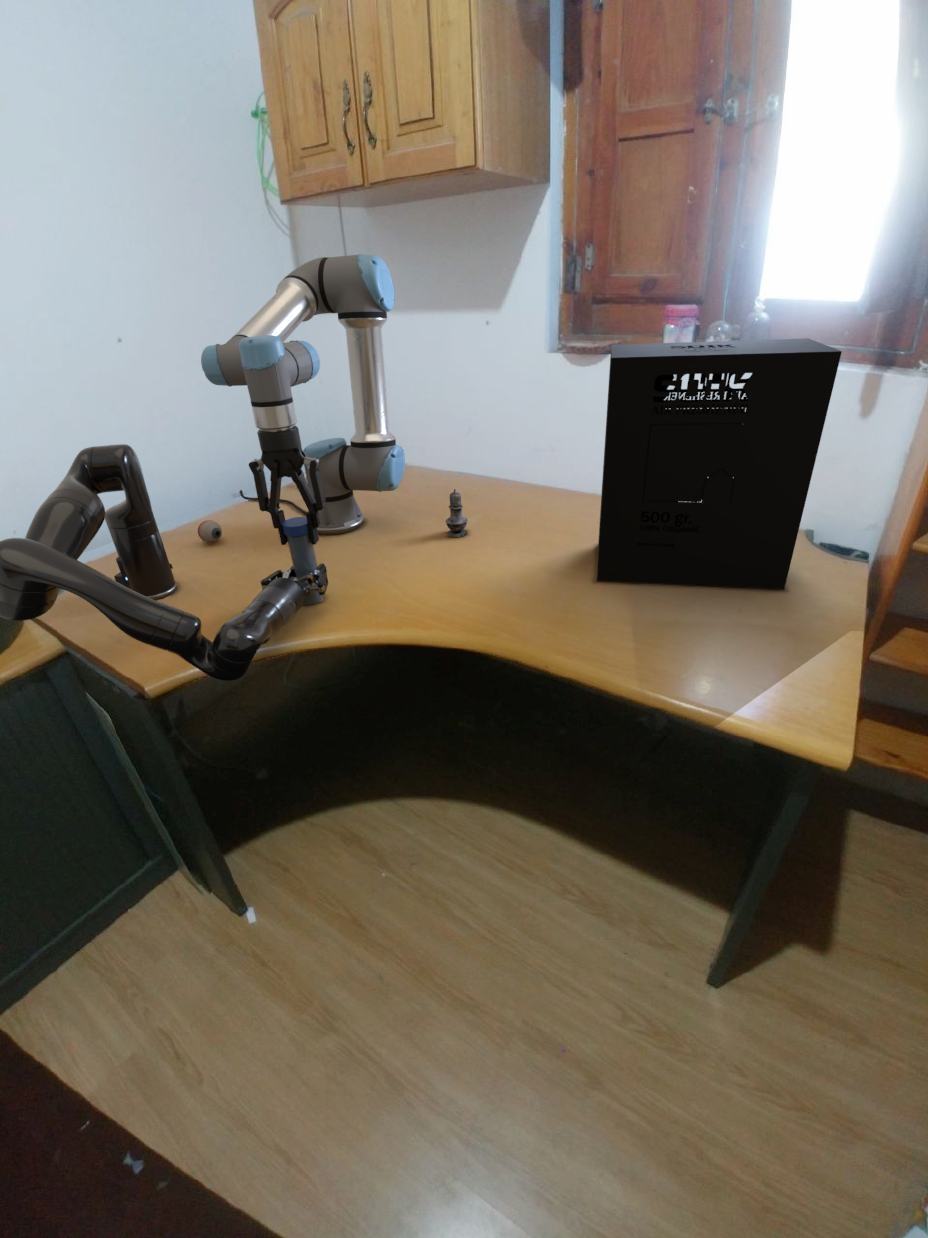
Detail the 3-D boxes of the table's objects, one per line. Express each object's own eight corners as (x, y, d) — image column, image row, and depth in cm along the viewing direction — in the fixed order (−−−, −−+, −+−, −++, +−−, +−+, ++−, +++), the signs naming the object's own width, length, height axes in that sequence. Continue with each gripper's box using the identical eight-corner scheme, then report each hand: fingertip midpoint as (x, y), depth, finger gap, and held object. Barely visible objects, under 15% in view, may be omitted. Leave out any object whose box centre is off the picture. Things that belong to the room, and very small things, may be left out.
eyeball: (211, 547, 159) (205, 526, 156) (196, 543, 162) (190, 522, 159) (229, 539, 163) (224, 518, 160) (214, 536, 166) (209, 515, 164)
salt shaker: (466, 537, 156) (463, 492, 150) (444, 537, 157) (440, 492, 151) (470, 529, 161) (468, 485, 155) (449, 528, 162) (446, 485, 156)
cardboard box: (763, 549, 141) (808, 338, 118) (784, 589, 124) (841, 351, 101) (598, 544, 148) (611, 344, 126) (596, 581, 131) (611, 357, 109)
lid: (312, 524, 126) (310, 515, 125) (312, 534, 121) (310, 524, 120) (284, 528, 125) (282, 518, 124) (283, 538, 120) (281, 528, 119)
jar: (323, 592, 133) (309, 518, 125) (323, 602, 129) (308, 526, 121) (300, 596, 133) (284, 521, 124) (300, 606, 129) (284, 529, 120)
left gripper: (246, 619, 119) (284, 581, 133) (314, 623, 116) (345, 583, 131) (237, 585, 115) (277, 550, 130) (307, 588, 112) (340, 551, 127)
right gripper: (331, 420, 115) (349, 534, 127) (237, 424, 117) (263, 535, 128) (319, 430, 109) (339, 548, 120) (221, 433, 110) (249, 550, 122)
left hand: (311, 567), depth 130 cm, fingers closed on jar, 5 cm apart
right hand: (300, 541), depth 124 cm, fingers closed on lid, 6 cm apart
